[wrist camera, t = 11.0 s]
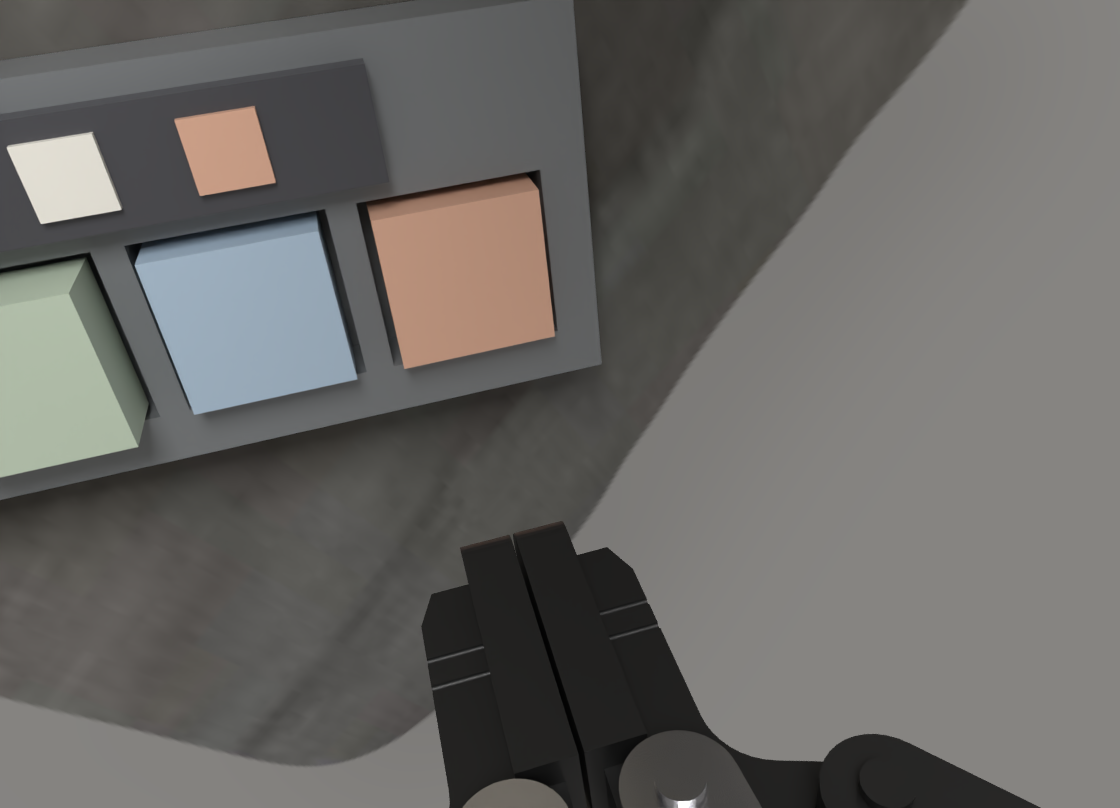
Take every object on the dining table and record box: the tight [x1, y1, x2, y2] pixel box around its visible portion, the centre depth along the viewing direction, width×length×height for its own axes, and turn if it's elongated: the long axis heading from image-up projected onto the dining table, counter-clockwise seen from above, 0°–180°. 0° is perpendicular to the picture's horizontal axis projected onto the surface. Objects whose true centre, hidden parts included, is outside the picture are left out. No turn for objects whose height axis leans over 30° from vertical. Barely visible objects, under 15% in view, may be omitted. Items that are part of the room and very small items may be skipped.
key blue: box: [135, 211, 357, 415], centre depth 27 cm, size 5×5×2 cm
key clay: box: [366, 172, 555, 369], centre depth 28 cm, size 5×5×2 cm
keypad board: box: [0, 0, 602, 500], centre depth 26 cm, size 12×28×4 cm, turn 96°
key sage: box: [0, 257, 149, 477], centre depth 25 cm, size 5×5×2 cm
